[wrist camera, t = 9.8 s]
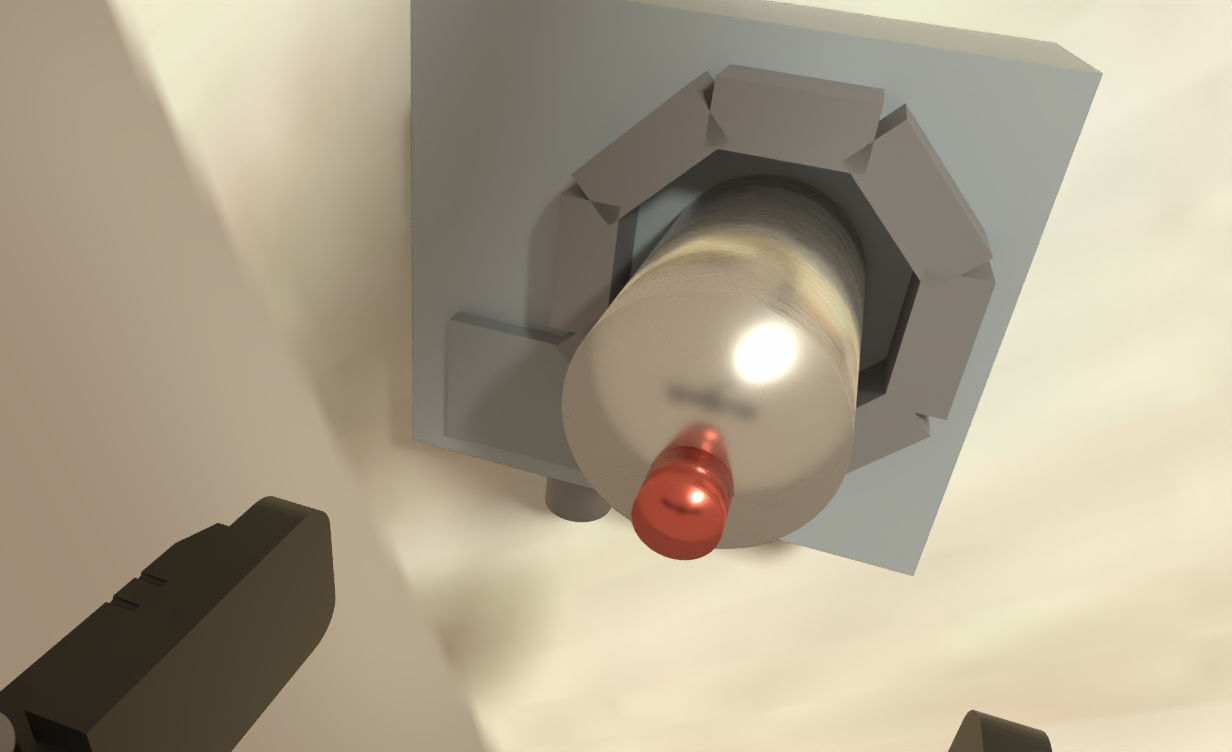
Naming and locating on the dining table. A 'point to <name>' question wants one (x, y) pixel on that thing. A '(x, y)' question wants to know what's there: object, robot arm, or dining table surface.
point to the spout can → (726, 371)
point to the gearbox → (698, 160)
